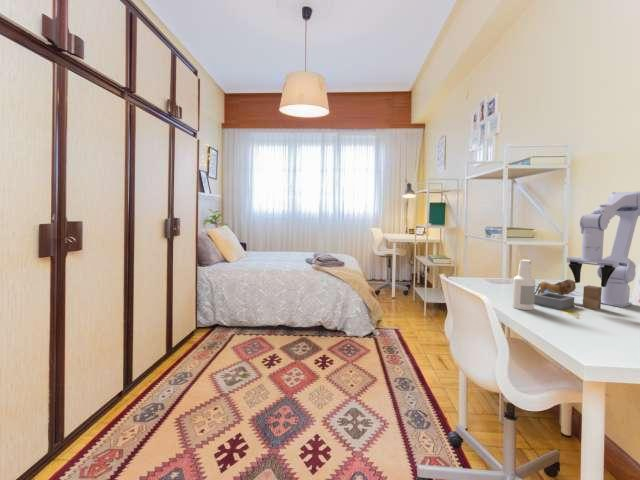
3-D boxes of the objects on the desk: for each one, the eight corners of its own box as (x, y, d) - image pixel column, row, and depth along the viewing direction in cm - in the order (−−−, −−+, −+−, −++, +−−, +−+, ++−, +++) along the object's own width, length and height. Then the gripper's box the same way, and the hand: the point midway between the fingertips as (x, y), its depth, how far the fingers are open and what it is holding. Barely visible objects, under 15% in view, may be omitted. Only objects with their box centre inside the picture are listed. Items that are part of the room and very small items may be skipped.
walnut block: (587, 305, 122) (588, 285, 122) (600, 308, 119) (601, 287, 118) (582, 307, 120) (583, 286, 120) (595, 310, 117) (597, 288, 116)
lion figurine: (575, 301, 129) (577, 279, 128) (573, 303, 125) (575, 281, 124) (533, 294, 139) (534, 274, 138) (529, 297, 135) (530, 276, 135)
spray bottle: (530, 311, 115) (532, 262, 113) (509, 307, 120) (511, 260, 119) (536, 308, 119) (538, 260, 118) (515, 304, 124) (518, 258, 123)
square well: (546, 300, 130) (546, 292, 129) (573, 306, 121) (574, 297, 121) (533, 303, 125) (534, 295, 125) (561, 310, 117) (562, 300, 116)
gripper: (563, 246, 119) (561, 282, 120) (614, 249, 107) (611, 289, 108) (572, 245, 123) (570, 280, 124) (622, 248, 110) (619, 287, 111)
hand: (590, 284), depth 116 cm, fingers open, 7 cm apart
